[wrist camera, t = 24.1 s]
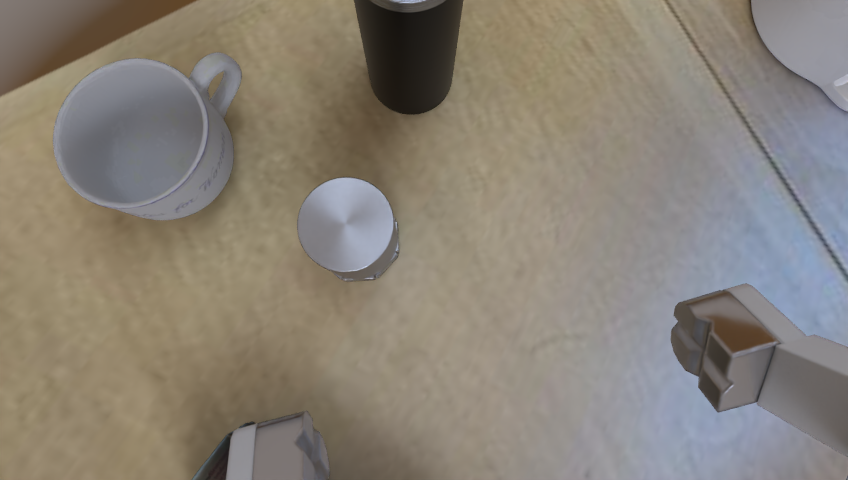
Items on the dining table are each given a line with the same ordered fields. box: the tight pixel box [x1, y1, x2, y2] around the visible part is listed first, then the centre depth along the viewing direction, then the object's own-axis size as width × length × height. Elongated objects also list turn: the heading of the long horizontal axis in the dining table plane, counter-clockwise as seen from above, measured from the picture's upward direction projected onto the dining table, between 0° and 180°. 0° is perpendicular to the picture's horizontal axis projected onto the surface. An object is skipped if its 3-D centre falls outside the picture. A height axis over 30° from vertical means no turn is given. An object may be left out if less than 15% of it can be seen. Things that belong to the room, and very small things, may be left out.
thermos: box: [354, 0, 463, 114], centre depth 36 cm, size 7×7×17 cm
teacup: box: [53, 53, 242, 220], centre depth 40 cm, size 14×11×8 cm
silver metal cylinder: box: [297, 177, 399, 282], centre depth 39 cm, size 6×6×8 cm
